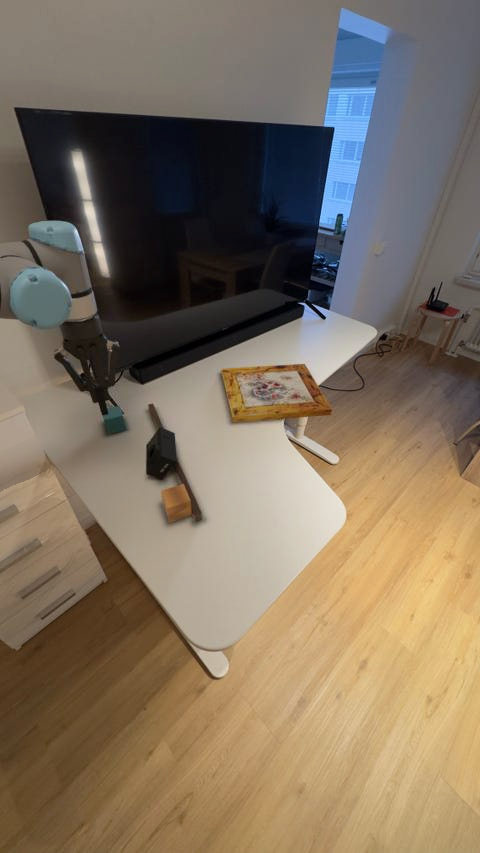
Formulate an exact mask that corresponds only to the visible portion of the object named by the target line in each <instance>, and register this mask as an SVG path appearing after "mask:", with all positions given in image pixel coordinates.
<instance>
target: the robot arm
mask: <svg viewBox="0 0 480 853" xmlns="http://www.w3.org/2000/svg"><path fill="white" fill-rule="evenodd" d="M27 231H28V237H29V238H27V239H24V240H19V241H11V242H2V243H0V319H2V320H3V319H4V320H16V321H17V320H18V321H20V323H22V324H24V325H27V326H29V327H32V328H35V329H38V330H51V329H55V328H58V327H59V330H60V334H61V336H62V346H61V347H59V349H54V350H53V358H54V359H55V360H56V361H57V362H58V363H59V364H61V365H62V367H63V368H64V369H65V371H66V372H67V374H68V375H69V377H70V379H71V380H72V381H73V383H74V385H75V386H76V387H77V389H78V390H79V391H80V392H81V393H83V392H87V393H89V395H90V398H91V402H92V403H93V404H97V403H98V406H99V410H100V413H101V416H102V417H103V415H108V414H109V413H108V409H107V408H108V405H107V402H108V401H110V400H111V397H110V393H109V388H110V387H114V386H115V385H116V371H117V355H118V354H119V352H120V349H121V348H120V344H119V342H118V341H117V340H113V341H112V340H110V339H108V338H107V336H106V334H104V331H103V326H102V323H101V319H100V315H99V313H98V307H97V302H96V297H95V294H94V290H93V287H92V283H91V278H90V273H89V269H88V264H87V260H86V256H85V254H86V252H85V251H84V250H85V249H84V246H83V244H82V241H81V237H80V234H79V231H78V229H77V228H76V226H75V225H74V224H72V223H71V222H68V221H62V220H42V221H38V222H33V223H31V224H29V225H28V227H27ZM105 348H106V349H107V351H108V361H107V362H108V364H107V365H108V366H107V378H106V377H105V374H104V370H103V366H102V362H101V358H100V357H101V356H102V354H103V352H104V351H105ZM69 354H70V355H71V356H72V357H73V358H75V359H77V360H79V363H80V366H81V368H82V372H83V375H84V379H85V382H84V380H83V378H82V376H81V375H80V374H79V372H78V371H77V369H76V368H75V366H74V365H73V363H72V361H71V360H70V358H69ZM88 360H93V363H94V367H95V370H96V374H97V378H98V381H99V384H98V385H95V383H94V380H93V376H92V373H91V369H90V366H89V362H88Z"/></svg>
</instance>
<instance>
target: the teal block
mask: <svg viewBox="0 0 480 853" xmlns="http://www.w3.org/2000/svg"><path fill="white" fill-rule="evenodd" d="M107 409H108V413H109V414H108V415H103V416H102V419H103V423H104V426H105V430H106V433H107V435H110V434H114V433H119V432H123V431H126V430H127V426H126V422H125V418H124V414H123V411H122V408H121V405H116V406H111V407H107Z"/></svg>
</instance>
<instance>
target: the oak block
mask: <svg viewBox="0 0 480 853" xmlns="http://www.w3.org/2000/svg"><path fill="white" fill-rule="evenodd" d="M160 493H161V499H162V500H161V501H162V505H163V508H164V511H165V514H166V517H167V520H168V522H169V523H173V522H176V521H178V520H181V519H184V518H187V517H190V516H193V515H192V510H191V500H190V498H189V496H188V493H187V491H186V489H185V486H184V484H181V485H180V484H178V485H175V486H171V487H168V488H164V489H161V490H160Z"/></svg>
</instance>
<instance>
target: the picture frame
mask: <svg viewBox="0 0 480 853" xmlns="http://www.w3.org/2000/svg"><path fill="white" fill-rule="evenodd" d="M220 375H221V379H222V384H223V388H224V393H225V397H226V400H227V405H228V409H229V414H230V418H231V423H232V424H234V423H235V424H236V423H237V424H238V423H248V422H261V421H263V422H264V421H274V420H275V421H276V420H285V419H298V418H310V417H313V418H314V417H323V416H331V415H332V411H333V408H332V407H331V405H330V403H329V402H328V400H327V398H326V397H325V395H324V393H323V392H322V390H321V389H320V387H319V385H318V383H317V382H316V380H315V379H314V377H313V375H312V374H311V372H310V370H309V369H308V367H307V364H305V363H294V364H278V365H277V364H276V365H261V366H259V365H257V366H244V367H243V366H242V367H224V368H221V369H220Z"/></svg>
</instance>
